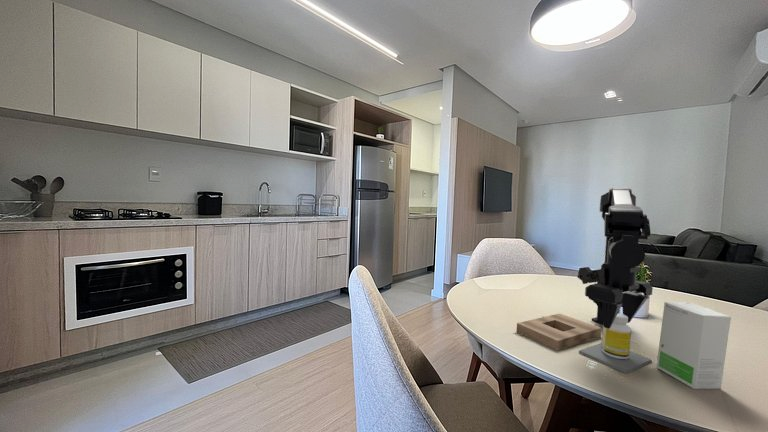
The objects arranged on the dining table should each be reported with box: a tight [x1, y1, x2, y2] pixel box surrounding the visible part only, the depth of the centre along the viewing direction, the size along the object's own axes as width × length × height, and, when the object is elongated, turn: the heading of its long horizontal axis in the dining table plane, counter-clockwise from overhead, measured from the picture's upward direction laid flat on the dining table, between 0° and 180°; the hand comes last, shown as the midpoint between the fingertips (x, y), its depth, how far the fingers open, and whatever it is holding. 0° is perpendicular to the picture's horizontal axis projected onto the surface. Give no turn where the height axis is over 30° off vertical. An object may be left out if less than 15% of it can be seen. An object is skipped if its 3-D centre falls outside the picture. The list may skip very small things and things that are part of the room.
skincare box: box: [656, 301, 732, 390], centre depth 65 cm, size 8×7×16 cm
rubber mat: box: [578, 342, 653, 374], centre depth 74 cm, size 12×10×1 cm
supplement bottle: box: [601, 312, 632, 359], centre depth 73 cm, size 5×5×10 cm
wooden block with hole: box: [516, 313, 602, 351], centre depth 86 cm, size 20×12×2 cm, turn 118°
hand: (616, 325), depth 73 cm, fingers open, 9 cm apart
